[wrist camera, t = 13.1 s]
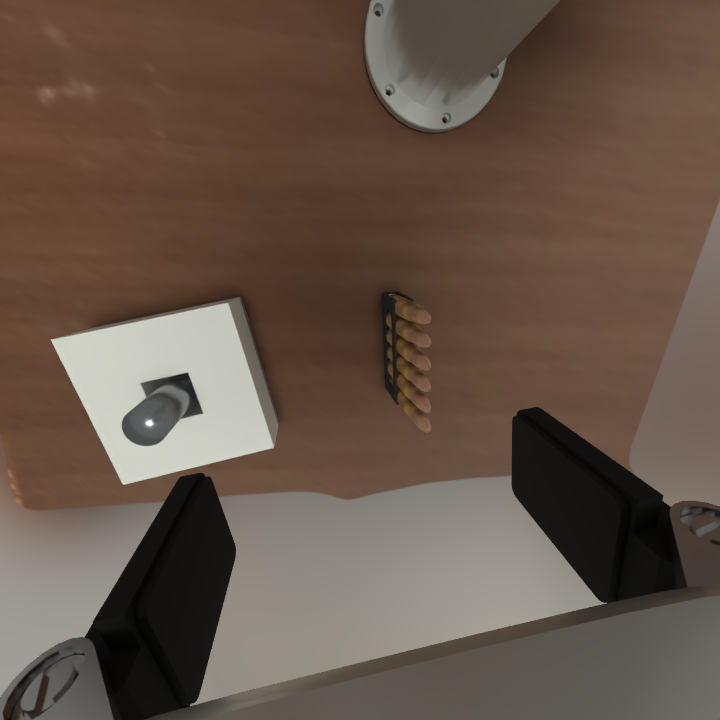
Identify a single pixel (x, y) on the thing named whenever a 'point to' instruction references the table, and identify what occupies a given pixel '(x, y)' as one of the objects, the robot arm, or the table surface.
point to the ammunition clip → (406, 356)
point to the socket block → (159, 363)
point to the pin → (159, 411)
